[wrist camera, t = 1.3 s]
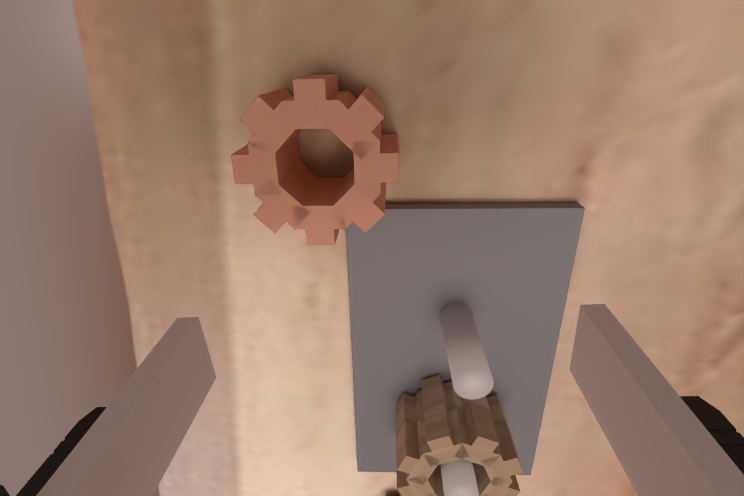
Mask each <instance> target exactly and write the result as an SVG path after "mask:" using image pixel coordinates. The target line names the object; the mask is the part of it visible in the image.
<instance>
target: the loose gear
mask: <svg viewBox="0 0 744 496" xmlns="http://www.w3.org/2000/svg"><path fill="white" fill-rule="evenodd" d="M293 90H294V96H293V95H292V94H291V93H290V92H289V91H288V90H287V89H286V88H282V89H279V90H276V91H273V92H270V93H267V94H263V95H260V96H258V97H257V98H256V100H255V101H254V102H253V103H252V105H251V106H250V107H249V108H248V110H247V111H246V112H245V113H244V115H243V116H242V117H241V118H240V120H241V121H242V122H243V123H244V124H245V125H246V126H247V127H248V128H249V129H251V130H252V131H253V132H254V133H255V134H254V135H253V136H252V138H251V139H250V140H249V141H248V144H247V145H246V146H244V147H243V148H241V149H239V150H238V151H236V152H235V153H233V154H232V155H231V159H232V165H233V172H234V178H235V184H253V185H254V192H255V196H257V197H258V198H259V199H260V200H261V201H262V202H264V203H263V204H262V205H261V206H260V208H259V209H258V210H257V211H256V212H255V213H254V216H255V217H256V218H258V219H259V220H260V221H261V222H262V223H264V224H265V225H266V226H267V227H268V228H270V229H271V230H272V231H273V232H274V233H276V232H277V231H278V230H279V229H280V228H281V227H282V225H283V224H284V223H285V222H287V223H288V224H289V225H291V226H292V227H293V228H294V229H306V234H307V245H335V242H336V239H337V235H338V232H339V229H345V228H346V227H348V226H349V225H350V224H351V223H352V222H354V223H355V224H356V225H357V226H358V227H359V228H361V229H362V230H363V231H364V232H365V233H366V232H367V231H368V230H369V229H370V228H371V227H372V226H373V225H374V224H375V223H376V222H377V221H378V220H380V219H381V218H382V217H383V216H384V215H385V196H386V184H385V183H399V149H398V139H397V134H382V124H381V123H380V122H381V121H382V120H383V119H384V118H385V104H384V103H383V102H382V101H381V100H380V99H379V98H378V97H377V96H376V95H375V94H374V93H373V92H372V91H371V90H370V88H369V87H368V86H367V87H366V88H365V89H364V91H363V92H362V93H361V94H360V95H359V96H358V97H357V98H356V97H355V96H354V95H353V94H352V93H351V92H350V91H339V84H338V74H312V75H308V76H304V77H300V78H296V79H293ZM301 129H330V130H331V131H332V132H333V133H334V134H335V135H336V136H337V137H338V138H339V139H340V140H341V141H342V142H343V143H344V144H345V145H346V146H347V147H349V148H350V149H351V150H352V151H353V152H354V168H353V169H352V170H351V171H350V172H349V173H348V174H347V175H346V176H345V177H334V178H319V177H318V176H317V175H315V174H314V173H313V172H312V171H311V170H310V169H309V168H308V167H307V166H306V165H304V164H303V163H302V162H301V161H300V158H299V147H298V136H297V134H298V133H299V131H300V130H301Z"/></svg>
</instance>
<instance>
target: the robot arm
mask: <svg viewBox="0 0 744 496" xmlns="http://www.w3.org/2000/svg"><path fill="white" fill-rule="evenodd" d="M570 371H571V373H572V375H573V376H574V378H575V380H576V382H577V384H578V386H579V387H580V389H581V391H582V393H583V395H584V397H585V399H586V400H587V402H588V404H589V406H590V408H591V410H592V411H593V413H594V415H595V417H596V419H597V421H598V422H599V424H600V426H601V428H602V430H603V432H604V434H605V435H606V437H607V439H608V441H609V443H610V445H611V446H612V448H613V450H614V452H615V454H616V456H617V457H618V459H619V461H620V463H621V465H622V467H623V468H624V470H625V472H626V474H627V476H628V478H629V480H630V481H631V483H632V485H633V487H634V489H635V491H636V492H637V494H638V496H744V438H743V436H742V435H741V434H740V433H737V432H736V429H735V427H734V426H733V425H732V424H731V423H730V422H729V421H728V420H727V418H726V417H725V416H724V415H723V414H722V413H721V412H720V411H719V410H717V409H716V408H715V407H713V406H712V405H710V404H709V403H707V402H706V401H704V400H703V399H702V398H700V397H699V396H681V397H680V396H679V395H678V394H677V392H676V391H675V390H674V389H673V388H672V386H671V385H670V384H669V383H668V381H667V380H666V379H665V378H664V376H663V375H662V374H661V373H660V372H659V370H658V369H657V368H656V367H655V365H654V364H653V363H652V362H651V361H650V359H649V358H648V357H647V356H646V354H645V353H644V352H643V351H642V349H641V348H640V347H639V346H638V345H637V343H636V342H635V341H634V340H633V338H632V337H631V336H630V335H629V334H628V332H627V331H626V330H625V329H624V327H623V326H622V325H621V324H620V323H619V321H618V320H617V319H616V318H615V316H614V315H613V314H612V313H611V311H610V310H609V309H608V308H607V307H606V305H605V304H591V305H580V311H579V317H578V323H577V329H576V335H575V341H574V346H573V352H572V358H571V364H570ZM215 378H216V374H215V371H214V368H213V364H212V361H211V358H210V354H209V351H208V347H207V344H206V341H205V337H204V334H203V331H202V327H201V324H200V321H199V317H187V318H177V319H176V321H175V322H174V323H173V324H172V326H171V327H170V328H169V329H168V331H167V332H166V333H165V334H164V336H163V337H162V338H161V339H160V341H159V342H158V343H157V344H156V346H155V347H154V348H153V349H152V351H151V352H150V353H149V355H148V356H147V357H146V358H145V360H144V361H143V362H142V363H141V365H140V366H139V367H138V368H137V370H136V371H135V372H134V373H133V375H132V376H131V377H130V378H129V380H128V381H127V382H126V384H125V385H124V386H123V387H122V388H121V390H120V391H119V392H118V394H117V395H116V396H115V397H114V399H113V400H112V401H111V402H110V404H109V405H108V406H107V407H97V408H95V409H94V410H93V411H91V412H90V413H89V414H88V415H86V416H85V417H84V418H83V419H81V420H80V421H78V423H77V424H76V425H75V426H74V427H73V428H72V430H71V431H70V432H69V433H68V435H67V436H66V437H65V440H64V441H62V442H61V443H60V444H59V445H58V446H57V448H56V449H55V450H54V453H53V454H52V455H50V456H49V457H48V458H47V459H46V461H45V462H44V463H43V464H42V465H41V467H40V468H39V469H38V470H37V471H36V473H35V474H34V475H33V476H32V477H31V478H30V480H29V481H28V482H27V483H26V485H25V486H24V487H23V488H22V489H21V490H20V492H19V493H18V494H17V495H16V496H153V494H154V492H155V490H156V488H157V487H158V485H159V483H160V481H161V479H162V477H163V475H164V473H165V472H166V470H167V468H168V466H169V464H170V462H171V460H172V459H173V457H174V455H175V453H176V451H177V449H178V447H179V445H180V444H181V442H182V440H183V438H184V436H185V434H186V432H187V431H188V429H189V427H190V425H191V423H192V421H193V419H194V418H195V416H196V414H197V412H198V410H199V408H200V406H201V404H202V403H203V401H204V399H205V397H206V395H207V393H208V391H209V390H210V388H211V386H212V384H213V382H214V380H215ZM0 496H10V495H9V494H8V492H7V491H6V489H5V488H4V486H2V485H0Z"/></svg>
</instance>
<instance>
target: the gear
mask: <svg viewBox="0 0 744 496" xmlns="http://www.w3.org/2000/svg"><path fill="white" fill-rule="evenodd" d="M421 387H422V390H421V391H418V392H417V394H416V395H415V397H413V396H410V395H407V394H404V393H403V395H402V397H401V399H400V400H399V402H398V404H397V406H396V456H397V489H398V491H399V493H400V494H401V496H444V490H443V482H442V474H441V466H440V464H443V463H447V462H451V461H454V460H458V459H464V460H467V461H470V462H473V467H474V472H475V477H476V482H477V487H478V492H479V496H517V494H518V493H519V492H520V489H519V486H518V482H517V479H516V476H515V475H516V474H520V473H524V472H523V469H522V466H521V463H520V460H519V457H518V454H517V450H516V447H515V444H514V441H513V438H512V435H511V432H510V429H509V426H508V422H507V419H506V416H505V413H504V410H503V407H502V405H501V402H500V400H499V397H498V395H494V396H490V397H487V398H486V396H484V397H482V398H479V399H473V400H471V399H465V398H462V397H460V396H459V395H458V394H457V393H456V392H455V391H454V388H453V383H452V381H451V382H447V383H443V381H442V379H441V377H440V375H437V376H434V377H430V378H427V379H424V380H421Z"/></svg>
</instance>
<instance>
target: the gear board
mask: <svg viewBox="0 0 744 496" xmlns="http://www.w3.org/2000/svg"><path fill="white" fill-rule="evenodd" d="M584 209H585V208H584V207H583V206H581V205H580V204H579V203H578V202H557V203H385V215H384V216H383V217H382V218H381V219H380V220H378V221H377V222H376V223H375V224H374V225H373V226H372V227H371V228H370V229H369V230H368V231H367V232H366V233H365V232H364V231H363V230H362V229H361V228H359V227H358V226H357V225H356V224H355V223H354V222H352V223H351V224H350V225H349V226H348V227H346V232H347V253H348V274H349V295H350V317H351V338H352V359H353V380H354V402H355V423H356V444H357V465H358V471H361V472H397V456H396V406H397V404H398V402H399V400H400V399H401V397H402V395H403V393H404V394H407V395H410V396H413V397H415V395H416V394H417V392H418V391H421V390H422V387H421V380H424V379H427V378H430V377H434V376H437V375H440V377H441V379H442V381H443V383H447V382H451V381H452V383H453V388H454V391H455V392H456V393H457V394H458V395H459V396H460V397H462V398H465V399H471V400H473V399H479V398H482V397H484V396H486V398H487V397H490V396H494V395H498V397H499V400H500V402H501V405H502V407H503V410H504V413H505V416H506V419H507V422H508V426H509V429H510V432H511V435H512V438H513V441H514V444H515V447H516V450H517V454H518V457H519V460H520V463H521V466H522V469H523V472H524V473H520V474H516V475H531V470H532V466H533V461H534V456H535V451H536V446H537V441H538V436H539V431H540V426H541V421H542V416H543V411H544V406H545V401H546V396H547V392H548V387H549V382H550V377H551V372H552V367H553V362H554V357H555V352H556V347H557V342H558V337H559V332H560V327H561V322H562V318H563V313H564V308H565V303H566V298H567V293H568V288H569V283H570V278H571V273H572V268H573V263H574V258H575V253H576V248H577V244H578V239H579V234H580V229H581V224H582V219H583V214H584ZM440 466H441V474H442V482H443V490H444V496H479V492H478V487H477V482H476V477H475V472H474V467H473V462H470V461H467V460H464V459H458V460H454V461H451V462H447V463H443V464H440Z"/></svg>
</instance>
